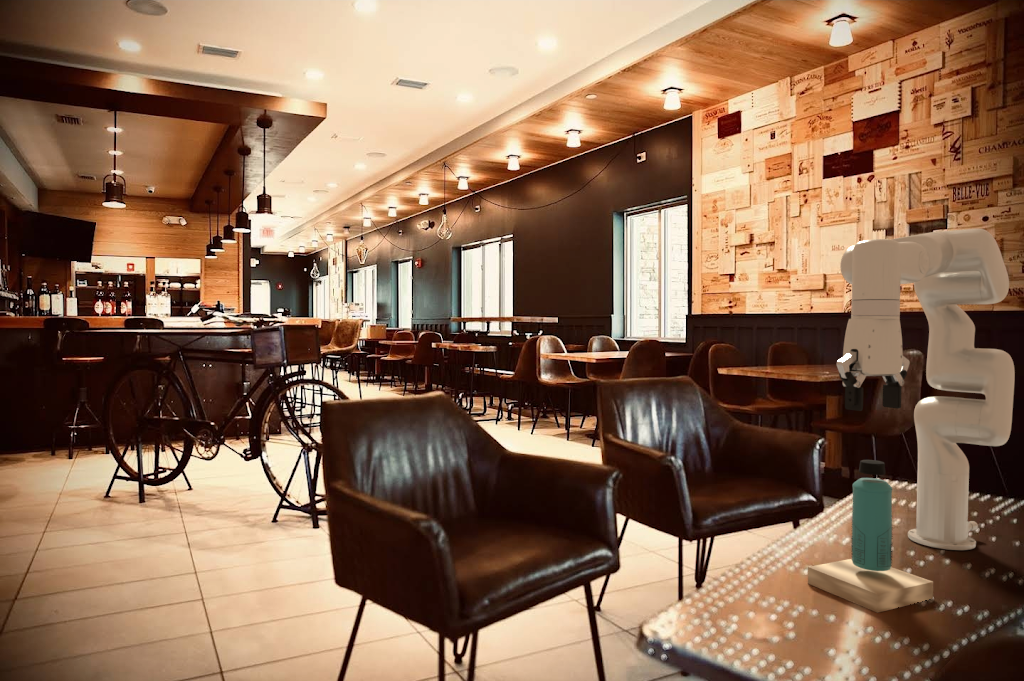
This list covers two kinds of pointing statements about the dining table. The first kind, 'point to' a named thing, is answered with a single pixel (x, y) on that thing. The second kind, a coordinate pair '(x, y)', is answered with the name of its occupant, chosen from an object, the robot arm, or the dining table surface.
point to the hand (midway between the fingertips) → (873, 408)
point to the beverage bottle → (872, 519)
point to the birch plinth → (870, 585)
